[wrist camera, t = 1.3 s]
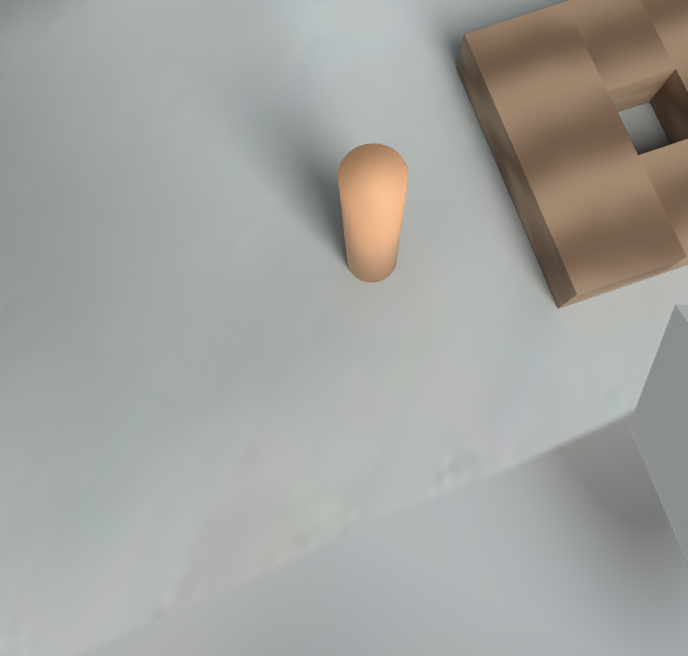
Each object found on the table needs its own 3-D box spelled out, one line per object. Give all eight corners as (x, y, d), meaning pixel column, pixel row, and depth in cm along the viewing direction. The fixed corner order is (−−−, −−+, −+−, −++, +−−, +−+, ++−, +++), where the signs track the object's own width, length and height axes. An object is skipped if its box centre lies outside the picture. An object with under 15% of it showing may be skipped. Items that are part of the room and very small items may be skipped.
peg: (340, 244, 39) (328, 156, 28) (386, 228, 40) (394, 134, 28) (356, 288, 39) (350, 218, 27) (403, 273, 39) (418, 195, 27)
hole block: (456, 68, 42) (464, 34, 38) (699, -11, 42) (728, -52, 39) (558, 308, 38) (577, 294, 35) (823, 218, 39) (867, 195, 35)
